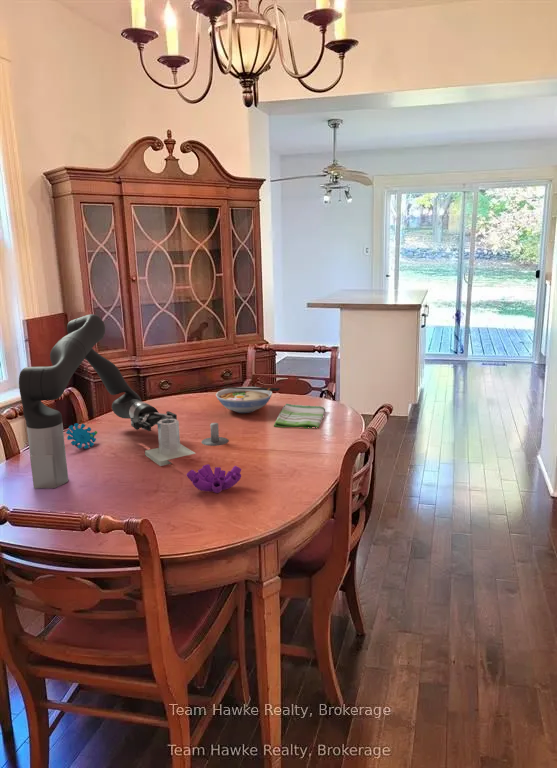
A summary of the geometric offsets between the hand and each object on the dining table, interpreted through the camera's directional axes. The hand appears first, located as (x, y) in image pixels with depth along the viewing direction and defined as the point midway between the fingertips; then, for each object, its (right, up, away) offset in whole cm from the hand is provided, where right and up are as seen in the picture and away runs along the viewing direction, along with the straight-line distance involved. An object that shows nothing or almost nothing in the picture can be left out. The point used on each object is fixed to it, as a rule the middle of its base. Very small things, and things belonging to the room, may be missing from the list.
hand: (162, 425), depth 185 cm
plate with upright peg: (+3, -10, -2) cm, 10 cm away
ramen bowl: (+23, +2, +49) cm, 54 cm away
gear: (-28, -8, +10) cm, 31 cm away
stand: (+16, -7, +8) cm, 19 cm away
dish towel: (+45, -1, +36) cm, 58 cm away
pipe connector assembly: (+19, -16, -28) cm, 38 cm away
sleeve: (+3, -8, -2) cm, 9 cm away
